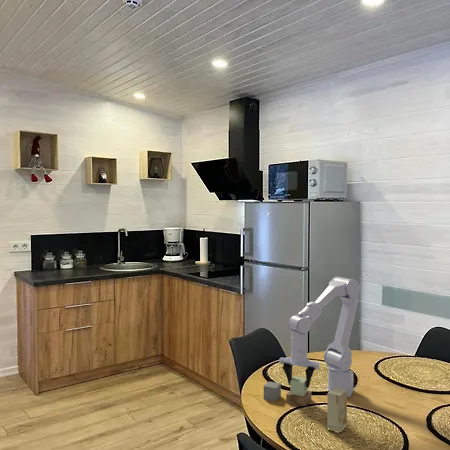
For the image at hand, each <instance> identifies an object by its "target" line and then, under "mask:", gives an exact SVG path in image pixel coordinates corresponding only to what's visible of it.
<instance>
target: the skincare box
mask: <svg viewBox="0 0 450 450" xmlns="http://www.w3.org/2000/svg"><path fill="white" fill-rule="evenodd" d="M326 402H327V404H326V405H327V411H326V412H327V415H326V416H327V417H326V419H327V420H326V421H327V422H326V423H327V427H326V429H327V428H329V429H332V430H335V431H338V432H340V431H341V430H342V429H343V428H344V427H345V426H346V425H347V426H348V397H347V390H344V389H340V388H337V387H335V388H333V389H332V390H331V391H329V392H328V393H327V401H326Z"/></svg>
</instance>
